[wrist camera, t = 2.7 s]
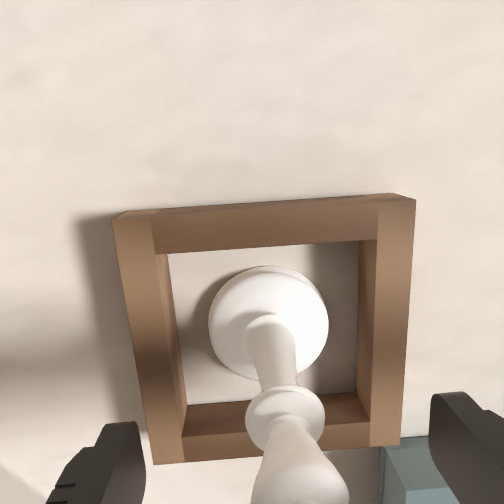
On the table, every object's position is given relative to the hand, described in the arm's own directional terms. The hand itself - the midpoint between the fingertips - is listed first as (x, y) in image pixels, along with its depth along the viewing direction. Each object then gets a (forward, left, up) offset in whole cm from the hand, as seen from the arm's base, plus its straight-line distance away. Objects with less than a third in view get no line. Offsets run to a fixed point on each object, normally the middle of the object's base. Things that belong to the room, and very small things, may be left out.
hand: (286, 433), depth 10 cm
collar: (-1, 0, -6) cm, 6 cm away
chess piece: (-1, 0, -6) cm, 6 cm away
